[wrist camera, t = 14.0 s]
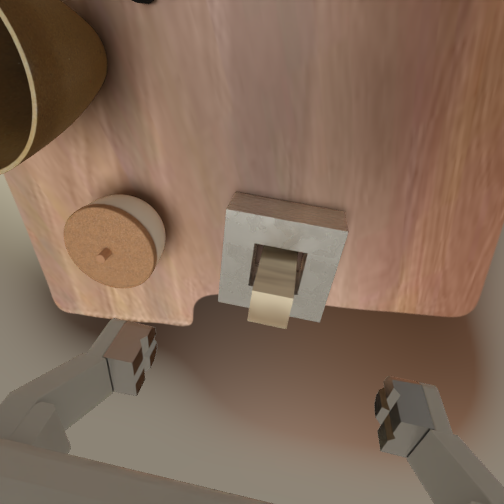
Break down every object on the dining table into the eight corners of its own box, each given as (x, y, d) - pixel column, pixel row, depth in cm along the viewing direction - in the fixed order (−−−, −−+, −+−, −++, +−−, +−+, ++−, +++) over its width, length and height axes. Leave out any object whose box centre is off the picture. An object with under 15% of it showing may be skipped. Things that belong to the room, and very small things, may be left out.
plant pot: (-18, -37, 32) (-257, -94, 19) (130, -33, 30) (-17, -93, 17) (30, 126, 40) (-114, 168, 27) (149, 137, 38) (60, 187, 25)
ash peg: (267, 231, 42) (252, 290, 32) (298, 237, 42) (293, 298, 32) (262, 257, 44) (247, 320, 34) (293, 263, 44) (286, 328, 34)
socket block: (235, 191, 40) (226, 209, 36) (345, 211, 39) (348, 231, 35) (226, 278, 47) (218, 301, 43) (319, 297, 46) (319, 322, 42)
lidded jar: (180, 259, 47) (153, 303, 39) (107, 250, 48) (67, 291, 40) (174, 186, 41) (140, 220, 33) (92, 177, 42) (40, 208, 34)
